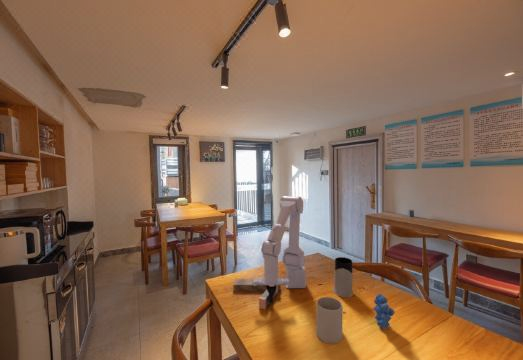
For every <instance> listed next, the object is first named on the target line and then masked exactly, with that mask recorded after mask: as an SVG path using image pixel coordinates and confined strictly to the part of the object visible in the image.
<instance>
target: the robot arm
mask: <svg viewBox="0 0 523 360" xmlns="http://www.w3.org/2000/svg"><path fill="white" fill-rule="evenodd" d="M279 208H280V211H279V213H278V216H277V219H276V223H275V224H273V225H272V227H271V229H270V231H269V235H268V237H267V239H266V240H264V241H263V242H262V244H261V248H260V251H261V254H262V258H263V261H264V262H263V265H264V266H263V268H264V272H263V274H264V275H263V276H264V277H261V278H254V286H256V285H266V286H267V291H268V293H269V295H270V303H269V304H273V303H274V298H273V295H274V293H275V291H276V285H280V286H285V288H286V289H306V288H307V286H306V285H307V284H306V280H307V278H306V277H307V272H306V267H305V262H306V258H305V251H304V250H303V249H302V248H300V226H301V225H300V223H301V214H303V211H304V200H303V198H302V197H301V196H289V195H287V196H286V195H282V196H281V197H280V200H279ZM288 219H289V226H288V227H289V228H288V229H289V230H288V246H287V247H285V249H284V250H283V255H282V264H284V267H285V272H286V274H285V278H280V277H279V255H280V253H281V251H282V239H283V237H284V235H285V231H286V230H285V226H286V223H287V221H288Z"/></svg>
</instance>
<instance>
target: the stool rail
mask: <svg viewBox="0 0 523 360" xmlns="http://www.w3.org/2000/svg"><path fill="white" fill-rule="evenodd" d="M254 279H255V278H254ZM254 279H253V278H244V279H243V278H239V279H238V278H237V279H236V278H235V279H233V285H232V286H233V287H232V288H233V289H232V290H233V292H265V291H266V290H267V286H266V285H256V286H254ZM280 291H281V285H278V292H280Z"/></svg>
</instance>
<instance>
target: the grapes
mask: <svg viewBox="0 0 523 360" xmlns="http://www.w3.org/2000/svg"><path fill="white" fill-rule="evenodd" d="M373 302H374V304H375V306H374V307H373V310H374V312H375V313H376V314H375V316H374V318H375V320H376V321H377V322H376V324H377V325H378V327H380V329H388V328H389V326H390V324H391V323H390V320H392V317H393V316H394V314H396V312H395V310H394V309H393V308H392V307H391V306H390V305H389V304H387V303H388V302H389V300H388V298H387V297H386V296H384V295H383V294H382V293H378V294H377V295H375V297H374V299H373Z"/></svg>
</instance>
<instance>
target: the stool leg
mask: <svg viewBox="0 0 523 360" xmlns="http://www.w3.org/2000/svg"><path fill="white" fill-rule="evenodd" d="M278 292H279V291H278V285H276V291H275V293H274V295H273V299H274V298H275V296H276V295H277V294H278ZM269 304H271V303H270V295H269V293H268V291H267V290H266V291H263V293H262V295H261V296H260V297H259V298H258V309H260V310H261V309H262V310H266V308H268V306H269Z"/></svg>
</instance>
